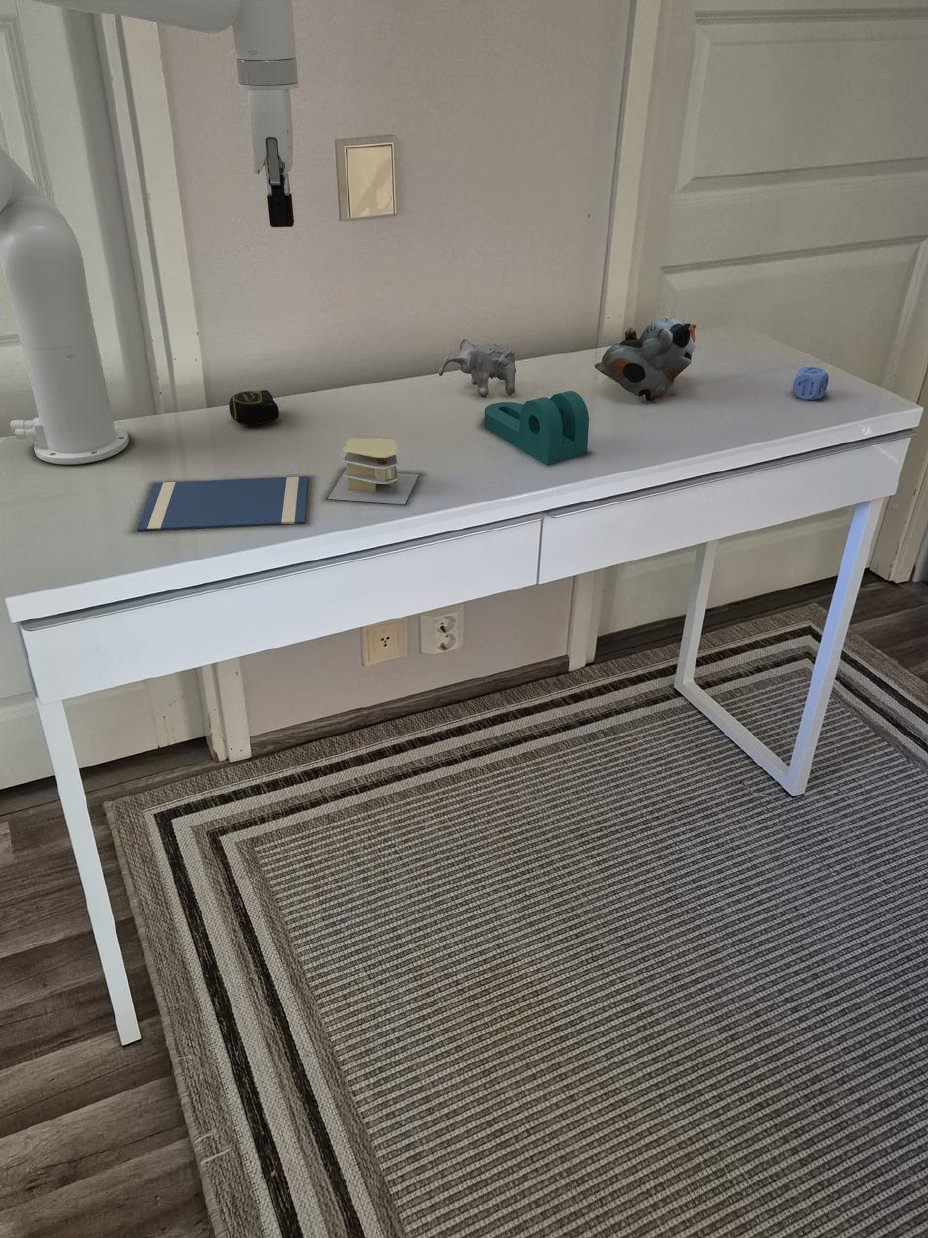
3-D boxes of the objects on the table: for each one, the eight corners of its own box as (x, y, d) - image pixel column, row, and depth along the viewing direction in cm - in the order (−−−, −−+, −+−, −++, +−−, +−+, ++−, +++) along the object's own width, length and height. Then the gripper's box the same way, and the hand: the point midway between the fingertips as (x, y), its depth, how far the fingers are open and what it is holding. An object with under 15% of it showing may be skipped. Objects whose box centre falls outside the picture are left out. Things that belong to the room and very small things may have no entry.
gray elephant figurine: (527, 394, 162) (528, 346, 158) (461, 408, 157) (461, 359, 153) (496, 376, 168) (497, 330, 164) (432, 390, 163) (431, 342, 159)
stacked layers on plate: (327, 499, 131) (324, 459, 128) (345, 469, 138) (342, 431, 135) (404, 504, 129) (403, 464, 126) (418, 474, 137) (417, 436, 134)
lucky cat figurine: (613, 368, 171) (660, 293, 165) (670, 409, 168) (721, 335, 162) (580, 368, 158) (631, 287, 152) (642, 413, 155) (696, 332, 149)
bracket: (586, 453, 142) (590, 399, 138) (547, 464, 139) (549, 409, 135) (513, 413, 155) (514, 362, 151) (475, 422, 152) (475, 370, 148)
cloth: (137, 531, 123) (136, 528, 123) (154, 484, 134) (153, 482, 134) (304, 523, 125) (304, 521, 125) (308, 478, 136) (308, 475, 136)
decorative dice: (790, 396, 160) (795, 371, 158) (802, 389, 163) (806, 364, 161) (815, 402, 158) (819, 377, 156) (826, 395, 161) (830, 370, 159)
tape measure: (281, 426, 151) (278, 402, 149) (234, 431, 149) (231, 407, 147) (273, 410, 156) (271, 386, 154) (228, 415, 155) (225, 391, 153)
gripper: (243, 69, 137) (258, 214, 147) (232, 80, 124) (250, 238, 134) (299, 68, 137) (311, 213, 147) (295, 80, 125) (308, 237, 135)
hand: (282, 225), depth 141 cm, fingers closed
